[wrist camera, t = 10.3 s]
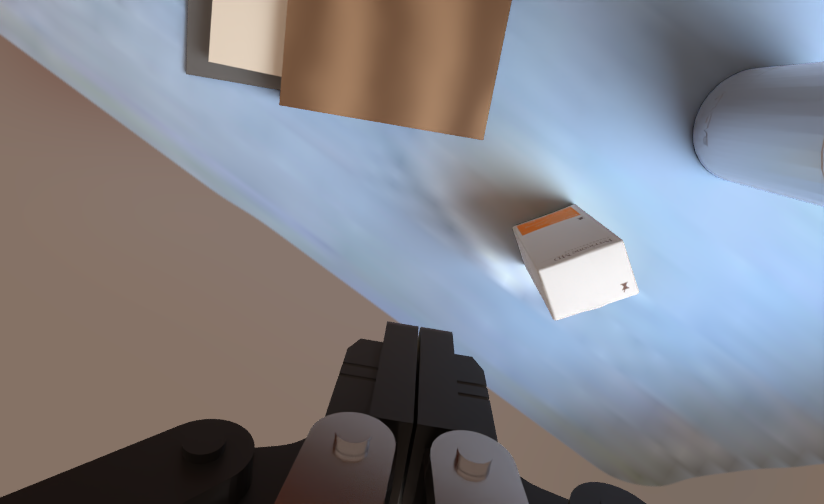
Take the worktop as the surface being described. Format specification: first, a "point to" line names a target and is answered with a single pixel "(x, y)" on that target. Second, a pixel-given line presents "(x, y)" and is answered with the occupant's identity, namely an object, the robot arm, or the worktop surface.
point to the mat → (199, 52)
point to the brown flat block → (395, 61)
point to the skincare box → (575, 261)
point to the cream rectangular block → (248, 34)
